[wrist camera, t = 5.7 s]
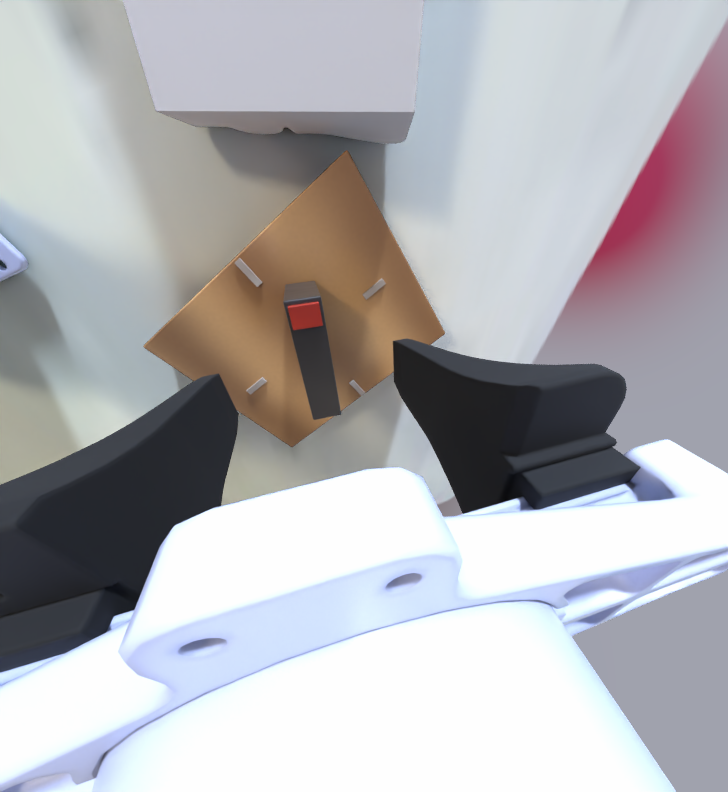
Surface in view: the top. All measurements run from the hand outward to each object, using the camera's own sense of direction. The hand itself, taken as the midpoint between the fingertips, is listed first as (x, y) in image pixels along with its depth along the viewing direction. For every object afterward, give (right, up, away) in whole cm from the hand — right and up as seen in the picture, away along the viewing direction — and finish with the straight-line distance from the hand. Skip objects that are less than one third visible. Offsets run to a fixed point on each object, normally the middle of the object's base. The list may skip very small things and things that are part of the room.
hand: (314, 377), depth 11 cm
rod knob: (-1, +3, +5) cm, 5 cm away
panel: (-2, +4, +7) cm, 8 cm away
